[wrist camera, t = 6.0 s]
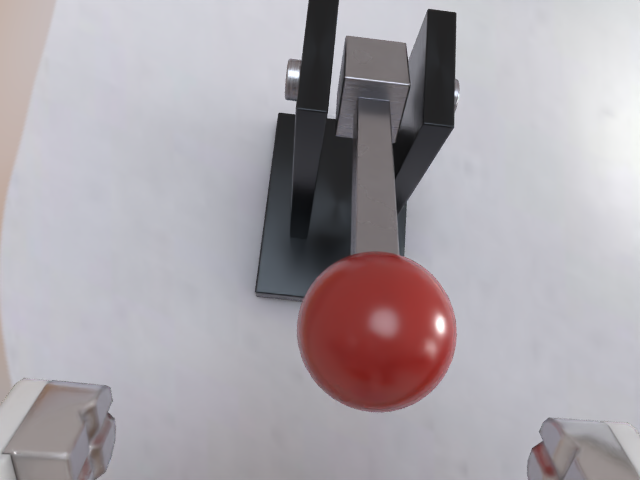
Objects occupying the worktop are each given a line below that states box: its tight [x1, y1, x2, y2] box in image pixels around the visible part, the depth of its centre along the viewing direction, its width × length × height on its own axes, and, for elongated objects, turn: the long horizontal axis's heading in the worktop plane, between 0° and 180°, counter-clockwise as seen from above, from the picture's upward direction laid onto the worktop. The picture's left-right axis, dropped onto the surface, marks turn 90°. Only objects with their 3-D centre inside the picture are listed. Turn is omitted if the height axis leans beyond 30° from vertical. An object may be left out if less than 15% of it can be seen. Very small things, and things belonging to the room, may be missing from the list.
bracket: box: [255, 0, 459, 301], centre depth 24 cm, size 11×8×15 cm
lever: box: [297, 36, 457, 412], centre depth 15 cm, size 13×4×4 cm, turn 174°
